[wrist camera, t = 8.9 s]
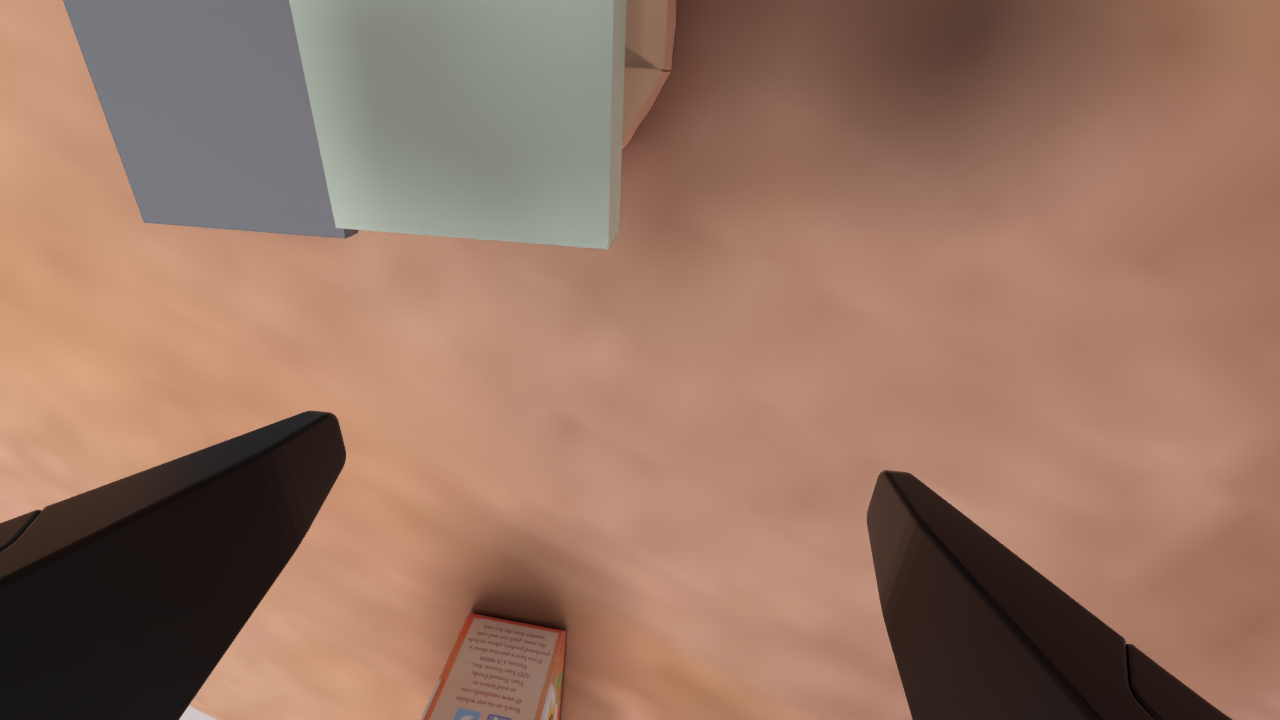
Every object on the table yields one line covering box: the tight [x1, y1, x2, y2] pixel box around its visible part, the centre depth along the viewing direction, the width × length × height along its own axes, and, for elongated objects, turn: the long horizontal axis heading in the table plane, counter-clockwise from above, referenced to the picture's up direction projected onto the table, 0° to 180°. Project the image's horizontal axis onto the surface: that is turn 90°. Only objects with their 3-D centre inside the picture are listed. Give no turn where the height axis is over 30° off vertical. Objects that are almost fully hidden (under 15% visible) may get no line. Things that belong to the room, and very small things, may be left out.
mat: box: [63, 0, 357, 239], centre depth 19 cm, size 8×12×1 cm
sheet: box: [289, 0, 627, 249], centre depth 13 cm, size 7×10×2 cm
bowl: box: [622, 0, 676, 149], centre depth 15 cm, size 9×9×4 cm
